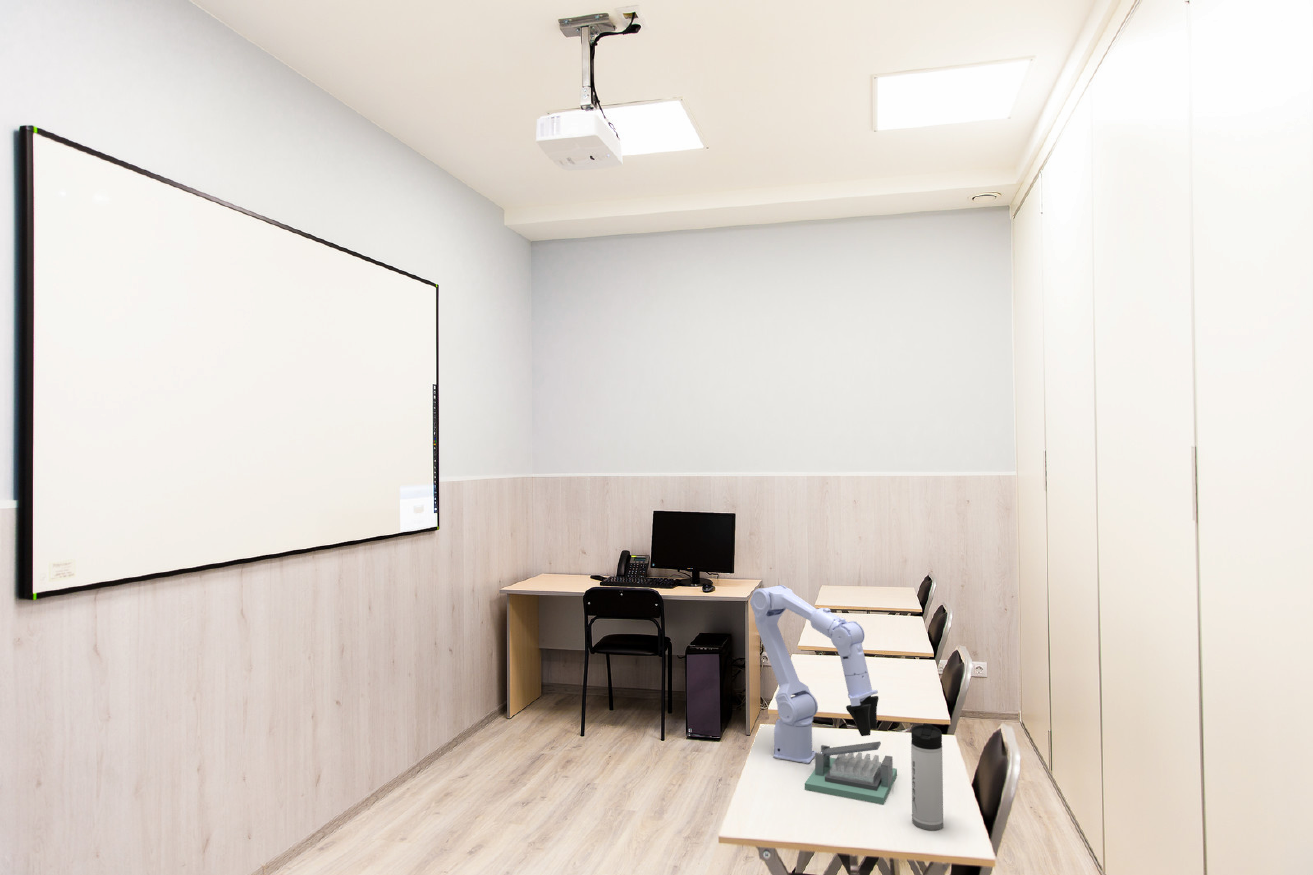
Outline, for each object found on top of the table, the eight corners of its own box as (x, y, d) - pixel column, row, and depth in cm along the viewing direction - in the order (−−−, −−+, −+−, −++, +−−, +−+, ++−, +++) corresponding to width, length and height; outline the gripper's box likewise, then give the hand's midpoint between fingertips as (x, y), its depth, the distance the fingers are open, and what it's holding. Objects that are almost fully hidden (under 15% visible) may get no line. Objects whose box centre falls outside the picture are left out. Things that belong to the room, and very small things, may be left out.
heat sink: (813, 777, 185) (813, 756, 185) (823, 762, 194) (823, 742, 194) (886, 790, 178) (886, 768, 178) (894, 774, 187) (893, 753, 187)
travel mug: (944, 819, 167) (943, 725, 167) (941, 833, 161) (940, 735, 161) (914, 814, 170) (913, 721, 170) (910, 827, 164) (909, 731, 164)
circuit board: (804, 789, 182) (804, 778, 182) (823, 762, 198) (823, 752, 198) (883, 804, 174) (883, 793, 174) (896, 774, 190) (896, 764, 190)
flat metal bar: (819, 757, 188) (817, 753, 188) (823, 752, 191) (822, 748, 192) (878, 750, 182) (876, 746, 182) (881, 744, 185) (879, 740, 185)
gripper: (866, 676, 181) (880, 737, 178) (878, 667, 194) (891, 724, 191) (836, 679, 184) (849, 740, 181) (850, 671, 197) (863, 727, 194)
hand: (869, 732), depth 186 cm, fingers open, 7 cm apart
